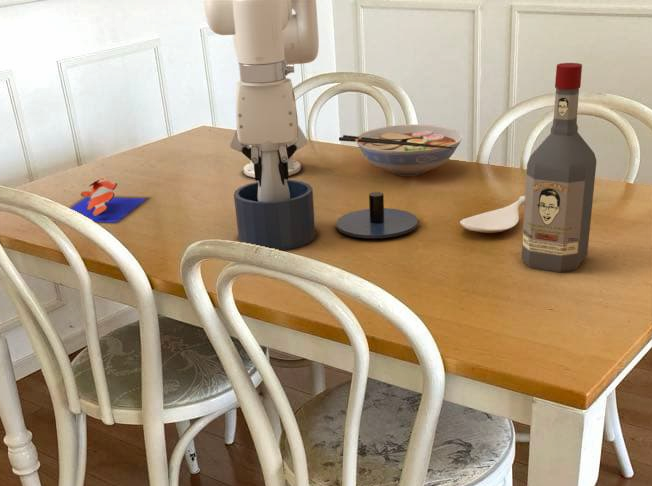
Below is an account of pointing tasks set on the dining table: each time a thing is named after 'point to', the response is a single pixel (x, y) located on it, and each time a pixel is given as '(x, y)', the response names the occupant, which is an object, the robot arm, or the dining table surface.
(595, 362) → the dining table surface
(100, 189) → the fish
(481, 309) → the dining table surface
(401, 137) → the ramen bowl
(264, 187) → the salt shaker
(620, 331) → the dining table surface
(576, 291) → the dining table surface
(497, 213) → the spoon
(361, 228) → the lid
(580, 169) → the liquor
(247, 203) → the pot
